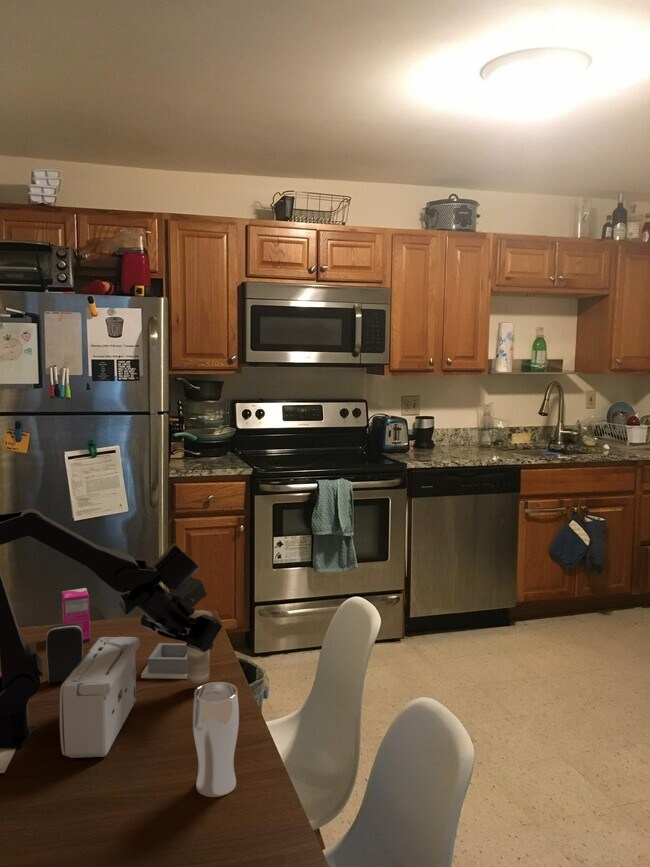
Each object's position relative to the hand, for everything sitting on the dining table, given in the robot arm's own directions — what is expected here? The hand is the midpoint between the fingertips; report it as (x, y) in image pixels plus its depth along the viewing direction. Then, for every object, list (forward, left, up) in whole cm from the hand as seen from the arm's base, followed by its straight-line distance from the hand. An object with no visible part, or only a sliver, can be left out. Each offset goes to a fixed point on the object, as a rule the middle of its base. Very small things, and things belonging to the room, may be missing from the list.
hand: (203, 644), depth 134 cm
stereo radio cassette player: (-17, +14, -9) cm, 24 cm away
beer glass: (-33, -9, -9) cm, 35 cm away
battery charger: (+2, +29, -9) cm, 31 cm away
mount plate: (+8, +8, -9) cm, 15 cm away
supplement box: (+23, +35, -9) cm, 43 cm away
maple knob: (-1, +1, -7) cm, 7 cm away
